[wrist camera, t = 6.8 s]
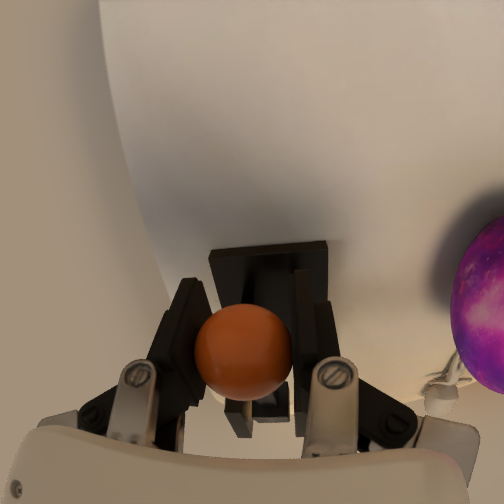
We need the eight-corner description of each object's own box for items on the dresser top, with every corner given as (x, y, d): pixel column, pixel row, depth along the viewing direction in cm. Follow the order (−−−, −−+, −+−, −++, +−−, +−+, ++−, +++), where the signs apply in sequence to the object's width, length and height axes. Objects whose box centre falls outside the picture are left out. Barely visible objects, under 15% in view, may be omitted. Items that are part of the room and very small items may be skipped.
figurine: (492, 357, 25) (459, 421, 28) (477, 337, 30) (450, 399, 33) (445, 360, 26) (414, 426, 30) (433, 338, 32) (408, 402, 35)
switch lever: (187, 287, 10) (171, 385, 7) (289, 280, 9) (294, 387, 7) (250, 385, 19) (248, 429, 17) (297, 383, 19) (298, 428, 17)
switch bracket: (210, 249, 23) (168, 376, 13) (325, 240, 22) (356, 371, 12) (237, 347, 29) (222, 451, 19) (323, 342, 28) (334, 449, 18)
